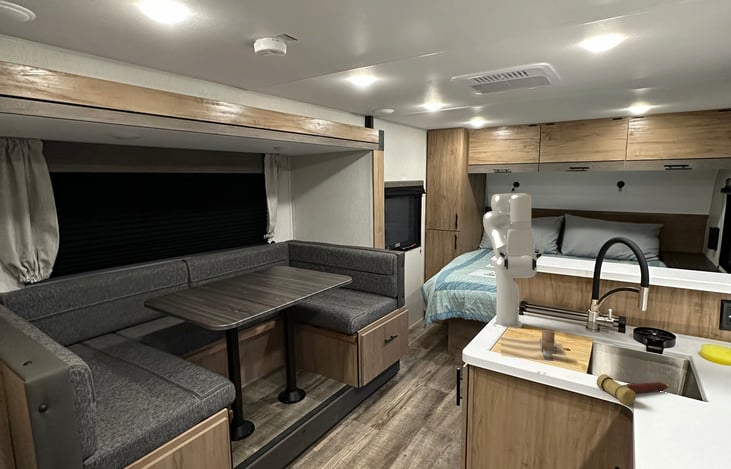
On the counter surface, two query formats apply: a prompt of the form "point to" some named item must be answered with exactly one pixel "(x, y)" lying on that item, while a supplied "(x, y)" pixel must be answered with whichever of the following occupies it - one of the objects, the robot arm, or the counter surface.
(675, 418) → the counter surface
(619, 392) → the gavel
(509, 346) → the subfloor board
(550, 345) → the brown grey cylinder
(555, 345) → the stud finder
